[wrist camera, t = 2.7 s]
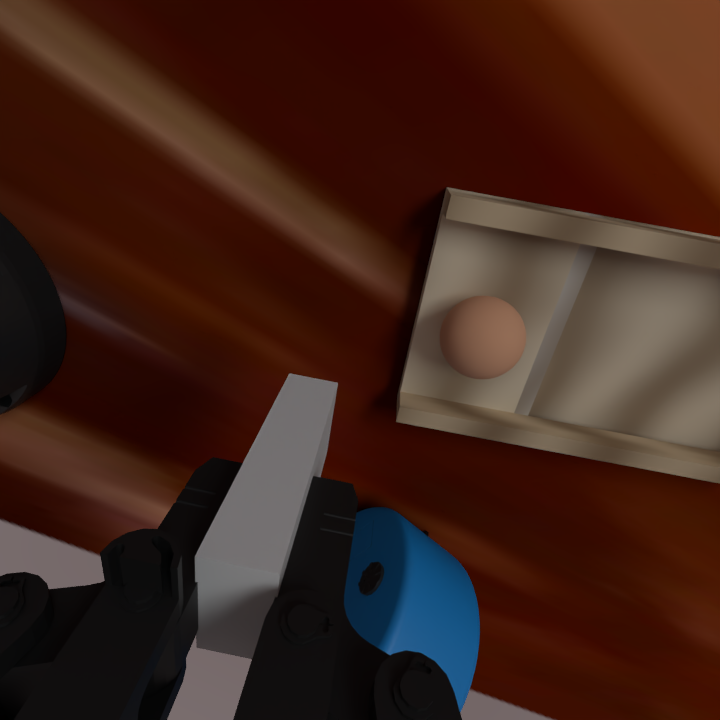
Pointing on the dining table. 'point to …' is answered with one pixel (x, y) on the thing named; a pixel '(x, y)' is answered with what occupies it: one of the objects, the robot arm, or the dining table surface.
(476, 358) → the ball
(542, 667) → the dining table surface
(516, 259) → the lane
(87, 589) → the robot arm
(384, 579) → the alarm clock
